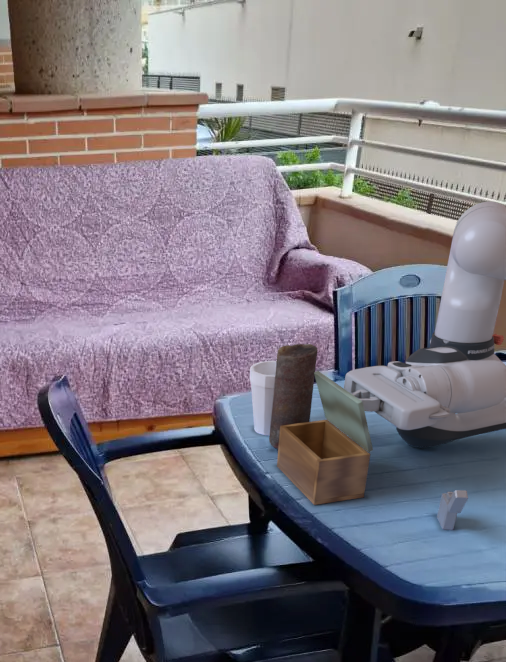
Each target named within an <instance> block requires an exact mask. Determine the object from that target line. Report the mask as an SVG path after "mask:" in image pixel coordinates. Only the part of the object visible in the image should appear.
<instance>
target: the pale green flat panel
mask: <svg viewBox="0 0 506 662" xmlns="http://www.w3.org/2000/svg"><path fill="white" fill-rule="evenodd" d="M314 375H315V376H314V380H315V383H316V386H317V390H318V393H319V397H320V402H321V406H322V411H323V414H324V417H325V420H328V421H330V422H331V423H332V424H333V425H335V426H336V427H337V428H338V429H340V430H341V431H342V432H343V433H345V434H346V435H347V436H348V437H350V438H351V439H352V440H353V441H355V442H356V443H357V444H358V445H360V446H361V447H362V448H363V449H365V450H366V451H367V452H368V453H371V452H373V451H374V448H373V443H372V439H371V434H370V430H369V427H368V426H369V425H368V420H367V416H366V411H364V406H363V402H362V401H361V400H359V399H358V398H357V397H355V396H354V395H352V394H351V393H349V392H348V391H346V390H345V389H344V387H342V386H341V385H339V384H338V383H336V382H335V381H334V380H333V379H331V378H329V376H326V375H325V374H324V373H322V372H320V371H319V370H315V372H314Z"/></svg>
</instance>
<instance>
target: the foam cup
mask: <svg viewBox="0 0 506 662" xmlns="http://www.w3.org/2000/svg"><path fill="white" fill-rule="evenodd" d="M276 362H277V360H265V361H259V362H256V363H253V364H252V365H251V366H250V368H249V382H250V390H251V401H252V403H251V404H252V416H253V417H252V418H253V428H254V432H256V433H257V434H259V435H263V436H268V437H269V436H270V425H271V416H272V405H273V396H274V384H275V373H276Z"/></svg>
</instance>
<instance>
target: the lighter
mask: <svg viewBox="0 0 506 662" xmlns="http://www.w3.org/2000/svg"><path fill="white" fill-rule="evenodd" d="M468 495H469V494H468V491H467V490H466V489H465V490H462V489H461V490H460V489H457V490H456V489H455V490H454V491H446V492H445V493H444V492H443V493H441V497H440V501H439V504H438V505H439V506H438V510H437V515H436V519H437V521H438V523H439V525H440V527H441V530H444V531H445V530H446V531H447V530H448V531H453V530H455V525H456V521H457V516H458V514H461V513H462V511H463V509H464V508H465V505H466V503H467V502H468V499H469V496H468Z"/></svg>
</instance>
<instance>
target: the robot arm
mask: <svg viewBox="0 0 506 662" xmlns="http://www.w3.org/2000/svg"><path fill="white" fill-rule="evenodd" d="M452 233H453V234H452V239H451V245H450V250H449V255H448V259H447V260H448V261H447V266H446V271H445V276H444V282H443V286H442V291H441V297H440V303H439V307H438V313H437V318H436V323H435V328H434V329H435V330H434V332H432V334H431V338H430V340H429V347H424V348H423V347H421V348H418V349H417V350H415V351H414V352H412V353H411V354H410V355H409V357H407V358H406V360H405V362H402V361H396V360H395V361H394V360H393V361H389V362H388V363H387V365H373V366H367V367H360V368H356V369H351V370H350V371H348V372H347V373H346V374H345V376H344V377H345V378H344V383H343V388H344V389H345V390H346V391H348V392H349V393H351V394H352V395H354V396H355V397H357V398H358V399H359V400H361V401H362V402H363V406H364V411H365V412H369V413H373V412H374V413H376V414H377V415H379V416H380V417H381V418H382V419H384V420H386V421H387V422H388V423H390V424H391V425H393V426H394V427H396V428H395V430H396V432H397V433H398V435H399V436H400V438H401V439H402V440H403V441H404V442H405V443H406V444H407V445H409V446H411V447H414V448H432V447H438V446H441V445H444V444H447V443H451V442H453V441H456V440H459V439H465V438H469V437H474V436H478V435H484V434H489V433H493V432H499V431H503V430H506V364H505V363H504V362H503V361H502V360H501V359H500V358H499V357H498V356H497V355H496V354H495V346H501V345H502V344H503V342H504V339H505V337H504V335H502V334H497V333H494V331H495V326H496V323H497V318H498V313H499V309H500V306H501V305H500V304H501V301H502V295H503V290H504V285H505V281H506V205H504V204H502V203H500V202H496V201H482V202H479V203H476V204H474V205H471V207H469V208H468V209H466V210H465V211H464V212H463V213H462V214H461V215H460V217H459V218H458V220H457V221H456V223H455V226H454V229H453V232H452Z"/></svg>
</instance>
